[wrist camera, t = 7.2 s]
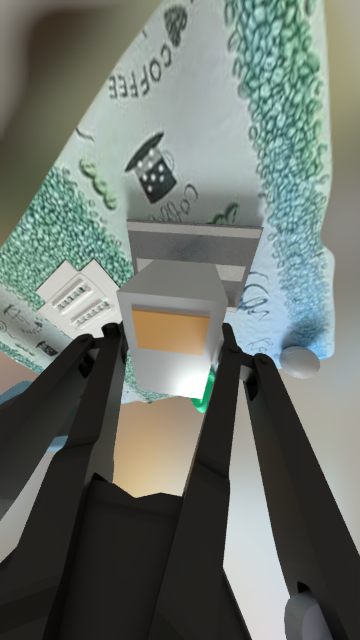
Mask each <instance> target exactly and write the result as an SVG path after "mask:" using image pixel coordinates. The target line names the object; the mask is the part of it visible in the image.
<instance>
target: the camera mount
mask: <svg viewBox="0 0 360 640" xmlns="http://www.w3.org/2000/svg"><path fill="white" fill-rule="evenodd" d="M214 379H215V376H214V374H213V372H212V371H210V372H209V375H208V379H207V383H206V386H205V390H204V394H203V397H202V399H199V398H192V397H190V398H191V400H192V402H193V404H194V406H195V407H196V408H197V410H198V411H199V412H201V413H203V412H206V408H207V405H208V401H209V397H210V394H211V390H212V386H213V383H214ZM201 402H202V403H201Z"/></svg>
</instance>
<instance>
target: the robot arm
mask: <svg viewBox="0 0 360 640" xmlns="http://www.w3.org/2000/svg"><path fill="white" fill-rule="evenodd" d="M101 330H102V332H103V335H104V337H98V338H94V337H93V335H92V334H89V333H87V334H82V335H79V336H77V337H76V338H75V339H74V340H73V341H72V342H71V343H70V344H69V345H68V346H67V347H66V348H65V349H64V350H63V351H62V352H61V354H60V355H59V356H58V357H57V358H56V359H55V360H54V361H53V362H52V363H51V364H50V365H49V366H48V367H47V368H46V369H45V370H44V371H43V372H42V373H41V374H40V375H39V376H38V377H37V378H36V380H35V381H34V382H33V383H32V382H30V381H22V382H20V383H18V384H16V385H15V386H13V387H12V388H10V389H9V390H7V391H6V392H4V393H3V394H2V395H0V520H1V519H2V518H3V516H4V515H5V514H6V512H7V511H8V510H9V508H10V507H11V505H12V504H13V503H14V501H15V500H16V498H17V497H18V495H19V494H20V492H21V491H22V489H23V488H24V486H25V485H26V483H27V482H28V480H29V478H30V477H31V475H32V473H33V472H34V470H35V469H36V467H37V465H38V464H39V462H40V460H41V459H42V457H43V456H44V454H45V452H46V451H48V452H56V454H55V455H54V456H53V458H52V460H51V462H50V464H49V467H48V469H47V472H46V474H45V477H44V479H43V482H42V484H41V487H40V489H39V492H38V495H37V497H36V500H35V502H34V505H33V507H32V510H31V513H30V515H29V517H28V520H27V522H26V525H25V527H24V530H23V533H22V535H21V538H20V540H19V543H18V545H17V547H16V548H15V549H14V550H13V551H12V552H11V553H10V554H9V555H8V556H7V557H6V558H5V559H4V560H3V561H2V562H1V563H0V640H252V639H251V636H250V633H249V631H248V629H247V626H246V623H245V621H244V618H243V616H242V613H241V611H240V609H239V606H238V604H237V601H236V599H235V596H234V594H233V591H232V589H231V586H230V584H229V581H228V579H227V576H226V574H225V571H224V569H223V560H224V550H225V540H226V529H227V520H228V508H229V499H230V480H229V466H230V457H231V448H232V439H233V431H234V422H235V412H236V404H237V396H238V387H239V379H241V380H243V384H244V389H245V393H246V399H247V404H248V409H249V414H250V420H251V425H252V430H253V435H254V440H255V445H256V450H257V456H258V461H259V466H260V471H261V476H262V481H263V486H264V492H265V496H266V502H267V507H268V512H269V517H270V522H271V527H272V532H273V537H274V541H275V546H276V550H277V555H278V558H279V562H280V565H281V569H282V572H283V576H284V579H285V583H286V586H287V589H288V592H289V595H290V599H289V600H288V602H287V604H286V607H285V617H284V622H285V634H286V639H287V640H360V555H359V554H358V551H357V549H356V546H355V544H354V542H353V540H352V538H351V536H350V533H349V531H348V528H347V526H346V524H345V522H344V519H343V517H342V515H341V513H340V510H339V508H338V506H337V503H336V501H335V499H334V497H333V495H332V492H331V490H330V488H329V485H328V483H327V481H326V479H325V476H324V474H323V472H322V470H321V468H320V465H319V463H318V460H317V458H316V456H315V454H314V451H313V449H312V447H311V445H310V443H309V440H308V438H307V436H306V433H305V431H304V429H303V427H302V424H301V422H300V420H299V417H298V415H297V413H296V411H295V409H294V406H293V404H292V402H291V399H290V397H289V395H288V393H287V390H286V388H285V386H284V384H283V381H282V379H281V377H280V375H279V372H278V370H277V368H276V365H275V363H274V361H273V360H272V359H271V358H270V357H269V356H267V355H265V354H262V353H257V354H255V355H254V356H252V355H249V354H246V353H244V352H243V351H242V349H241V348H240V347H239V346H238V345H237V343H236V340H235V336H234V333H233V329H232V327H231V325H230V324H229V323H223V324H222V328H221V332H220V335H219V339H218V343H217V346H216V350H215V354H214V357H213V361H212V364H217V362H218V364H219V365H218V368H217V371H216V375H215V379H214V383H213V386H212V390H211V394H210V397H209V401H208V405H207V408H206V412H205V415H204V419H203V423H202V427H201V431H200V434H199V437H198V441H197V445H196V448H195V452H194V456H193V459H192V463H191V467H190V470H189V473H188V477H187V480H186V484H185V487H184V491H183V494H182V496H176V495H171V494H165V493H157V494H152V495H147V496H143V497H138V498H134V497H133V496H131V495H130V494H128V493H127V492H126V491H124V490H123V489H121V488H120V487H118V486H117V485H116V484H114V483H112V481H113V472H114V460H113V454H114V445H115V439H116V432H117V425H118V418H119V411H120V404H121V396H122V389H123V382H124V375H125V368H126V361H127V351H128V349H129V346H128V342H127V338H126V333H125V329H124V325H123V320H122V321H121V322H120V324H118V323H115V322H111V323H107V324H105V325H103V326H102V328H101ZM129 353H130V351H129Z"/></svg>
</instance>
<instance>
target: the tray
mask: <svg viewBox="0 0 360 640" xmlns="http://www.w3.org/2000/svg"><path fill="white" fill-rule="evenodd" d="M79 287H82V288H83V289H84V290H85V291H84V292H82V291H81V290H80V289H79ZM118 289H120V288H119V287H118V286H117V285H116V284H115V282H114V281H113V280H112V279H111V278H110V277H109V276H108V274H107V273H106V272H105V271H104V270H103V269H102V268H101V266H100V265H99V264H98V263H97V262H96V261H95V260H94V259H93V260H92V261H91V262H90V263H89V264H88V265H87V266H86V267H84V268H83V269H82V270H81V271H78V270H76V269H75V268H74V267H73V266H72V265H71V264H70V262H69V261H68V260H65V262H64V263H63V264H62V265H61V266H60V267H59V268H58V269H57V270H56V271H55V272H54V273H53V274H52V275H51V276H50V277H49V278H48V279H47V280H46V282H44V284H43V285H42V286H41V287H40V288H39V289H38V290H37V291H36V293H37V294H38V295H39V296H40V297H42V298H43V299H44V300H45V301H46V303H45V304H44V305H43V306H42V307H41V308H40V309H39V310H38V312H39V313H40V314H41V315H43V316H44V317H45V318H47V319H48V320H49V321H50V322H52V323H53V324H54V325H55V326H57V327H58V328H59V329H61V330H62V331H63V332H64V333H66V334H67V335H68V336H70V337H71V338H72V339H73V340H74V339H75V338H76V337H77V336H79V335H82V334H87V333H89V334H92V335H93V337H94V338H98V337H104V335H103V332H102V330H101V328H102V326H103V325H105V324H107V323H111V322H115V323H118V324H120V322H121V321H122V316H121V312H120V307H119V303H118V299H117V294H116V291H117V290H118ZM75 291H76V293H78V294H79V296H77V295H76V294H75V293H74V292H75ZM69 296H71V297H72V298H73V299H74V300H72V299H71V298H67V297H69ZM64 300H66V301H67V302H68V303H69V304H67V303H66V302H65V301H64ZM105 301H106V302H107V303H108V304H110V305H108V306H106V305H105V304H104V302H105ZM60 304H61V305H62V306H63V307H64V308H63V307H62V306H60ZM58 305H59V306H58ZM99 305H100V306H99ZM98 306H99V307H100V308H101V309H102V308H103V309H102V310H101V309H100V308H99V307H98ZM93 309H95V310H94V311H93ZM88 310H89V311H88ZM95 312H98V313H95ZM87 313H89V315H90V316H92V317H90V316H89V315H88V314H87ZM83 316H84V318H83ZM85 319H87V320H85ZM78 320H79V321H78ZM80 322H81V323H80ZM74 323H75V324H74Z"/></svg>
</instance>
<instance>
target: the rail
mask: <svg viewBox="0 0 360 640" xmlns="http://www.w3.org/2000/svg"><path fill="white" fill-rule="evenodd" d="M127 228H128V233H129V240H130V247H131V255H132V262H133V269H134V276H135V275H136V274H137V273H139V272H140V271H141V270H142V269H143V268H145V267H146V266H147V265H148V264H149V263H151V262H152V261H153V260H154V259H159V260H172V261H185V262H198V263H211V264H215V265H216V268H217V271H218V273H219V276H220V279H221V282H222V285H223V288H224V290H225V293H226V296H227V299H228V302H229V303H228V306H227V310H226V312H234V313H236V309H237V308H238V305H239V302H240V299H241V296H242V293H243V290H244V287H245V284H246V281H247V277H248V274H249V271H250V268H251V265H252V262H253V259H254V256H255V253H256V249H257V246H258V243H259V240H260V237H261V234H262V231H263V228H264V227H251V226H234V225H216V224H199V223H181V222H164V221H146V220H129V219H127Z"/></svg>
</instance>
